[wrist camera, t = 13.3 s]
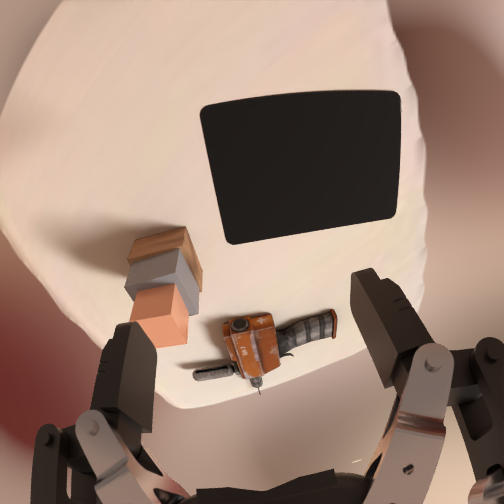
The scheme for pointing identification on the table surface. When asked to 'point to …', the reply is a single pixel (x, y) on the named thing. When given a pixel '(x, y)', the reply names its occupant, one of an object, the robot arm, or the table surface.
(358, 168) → the tablet
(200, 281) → the walnut base block
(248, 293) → the table surface
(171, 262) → the gray middle block
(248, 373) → the tool
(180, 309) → the terracotta block
